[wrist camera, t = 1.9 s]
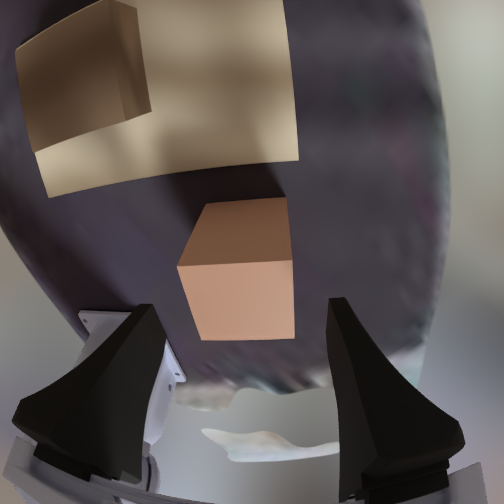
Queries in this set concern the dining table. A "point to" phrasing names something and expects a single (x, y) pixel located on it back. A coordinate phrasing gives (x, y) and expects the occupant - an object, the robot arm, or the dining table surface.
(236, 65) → the board
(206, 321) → the top block
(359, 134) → the dining table surface
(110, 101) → the base block
